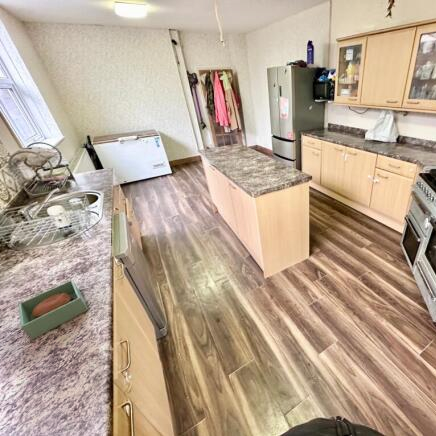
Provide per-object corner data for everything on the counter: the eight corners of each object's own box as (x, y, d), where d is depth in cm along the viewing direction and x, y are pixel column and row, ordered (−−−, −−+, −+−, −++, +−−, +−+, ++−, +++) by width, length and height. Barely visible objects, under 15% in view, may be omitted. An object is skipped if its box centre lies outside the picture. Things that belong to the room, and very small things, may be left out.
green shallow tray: (28, 315, 76) (18, 303, 74) (79, 290, 85) (72, 279, 82) (32, 339, 68) (20, 327, 66) (88, 309, 77) (80, 298, 74)
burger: (29, 327, 72) (19, 316, 69) (50, 303, 80) (43, 293, 77) (64, 321, 73) (56, 310, 71) (82, 298, 81) (76, 288, 79)
